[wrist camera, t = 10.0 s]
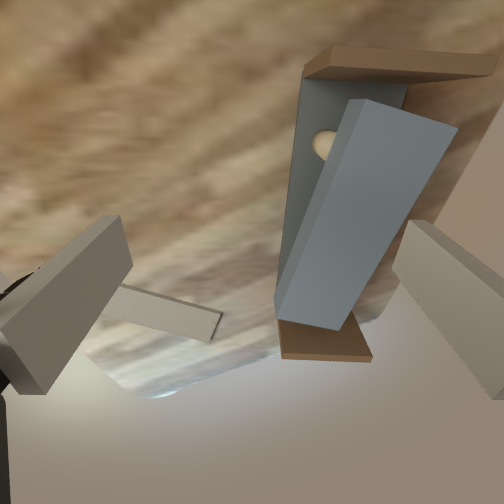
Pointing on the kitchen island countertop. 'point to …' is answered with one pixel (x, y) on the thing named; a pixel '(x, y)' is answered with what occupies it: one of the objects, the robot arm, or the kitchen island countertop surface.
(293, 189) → the peg shelf
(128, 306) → the baseboard
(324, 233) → the shelf board
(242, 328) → the kitchen island countertop surface
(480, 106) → the kitchen island countertop surface
